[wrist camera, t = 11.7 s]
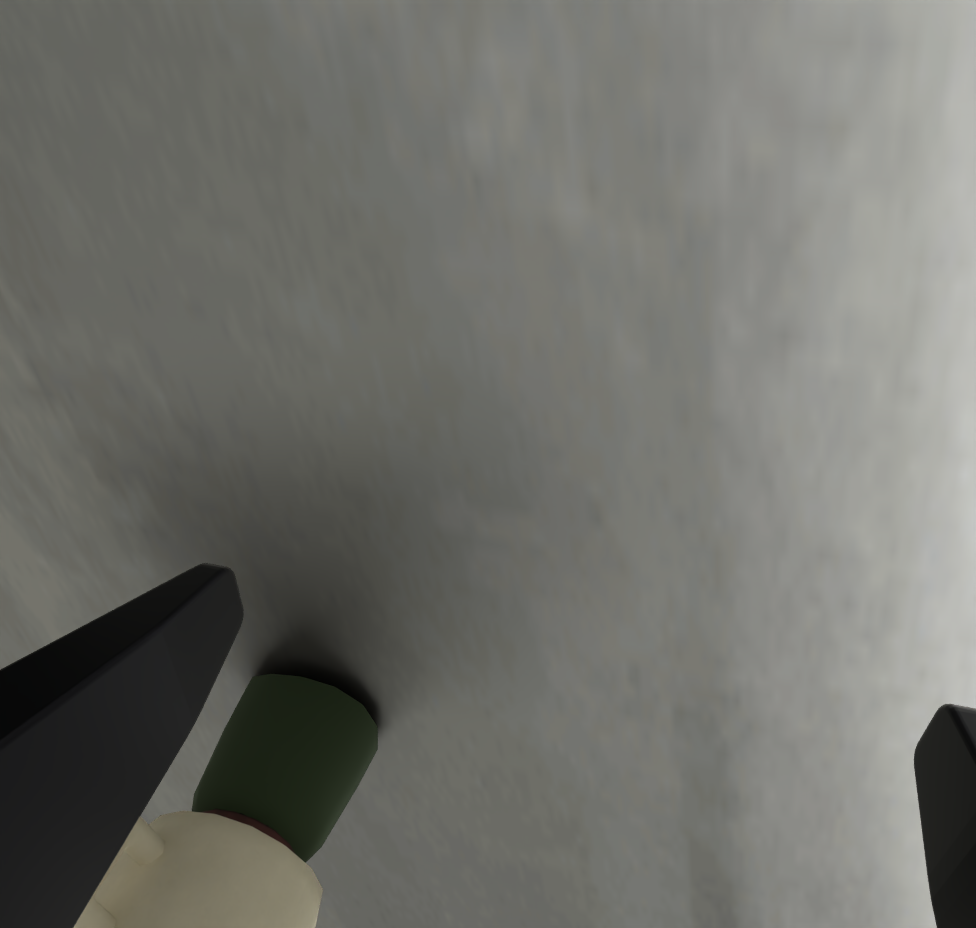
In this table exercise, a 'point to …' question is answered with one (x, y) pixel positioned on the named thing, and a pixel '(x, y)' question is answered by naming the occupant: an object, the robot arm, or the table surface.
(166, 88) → the table surface
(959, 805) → the robot arm
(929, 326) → the table surface
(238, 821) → the character mug
